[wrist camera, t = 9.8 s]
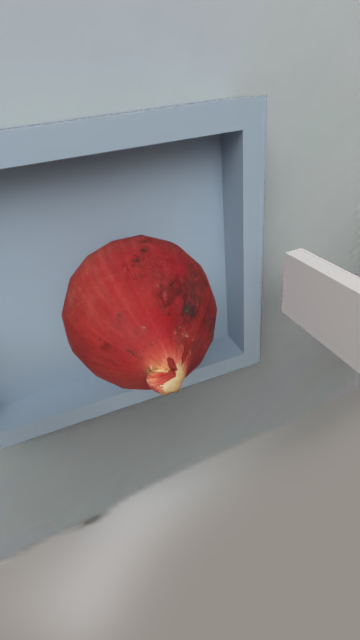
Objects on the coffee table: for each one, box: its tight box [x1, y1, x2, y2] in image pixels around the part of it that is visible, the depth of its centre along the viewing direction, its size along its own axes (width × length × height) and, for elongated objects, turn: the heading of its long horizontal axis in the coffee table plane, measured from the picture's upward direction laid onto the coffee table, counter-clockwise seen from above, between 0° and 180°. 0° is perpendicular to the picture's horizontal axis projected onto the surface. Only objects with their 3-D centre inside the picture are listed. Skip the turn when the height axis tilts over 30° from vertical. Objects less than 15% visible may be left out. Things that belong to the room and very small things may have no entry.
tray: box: [0, 95, 267, 449], centre depth 16 cm, size 16×13×3 cm
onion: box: [61, 235, 217, 395], centre depth 13 cm, size 6×6×8 cm
